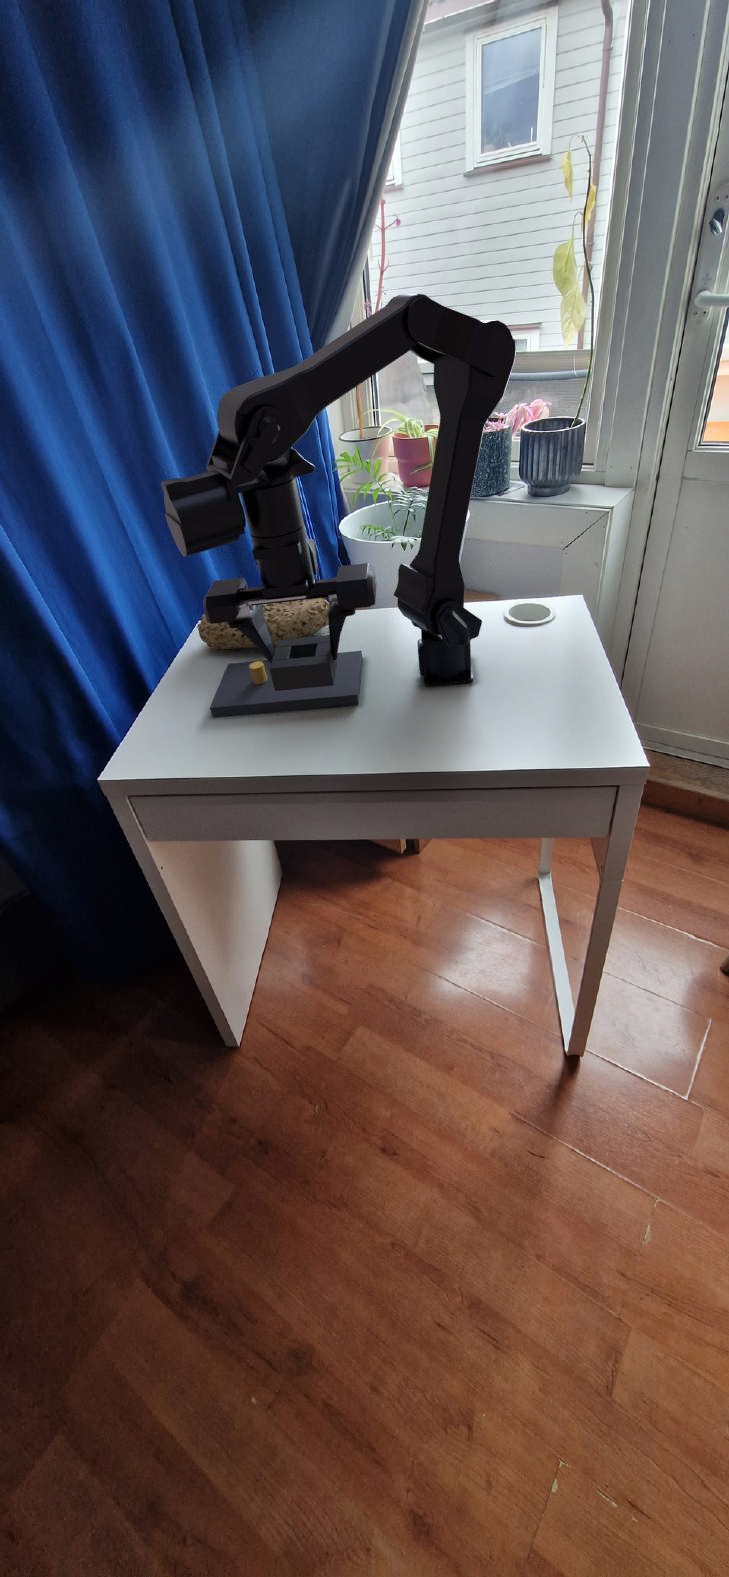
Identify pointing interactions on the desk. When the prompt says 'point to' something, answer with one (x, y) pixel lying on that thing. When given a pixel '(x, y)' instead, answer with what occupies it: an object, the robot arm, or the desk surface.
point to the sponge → (271, 624)
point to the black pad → (303, 663)
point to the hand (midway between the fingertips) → (305, 661)
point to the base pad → (255, 693)
